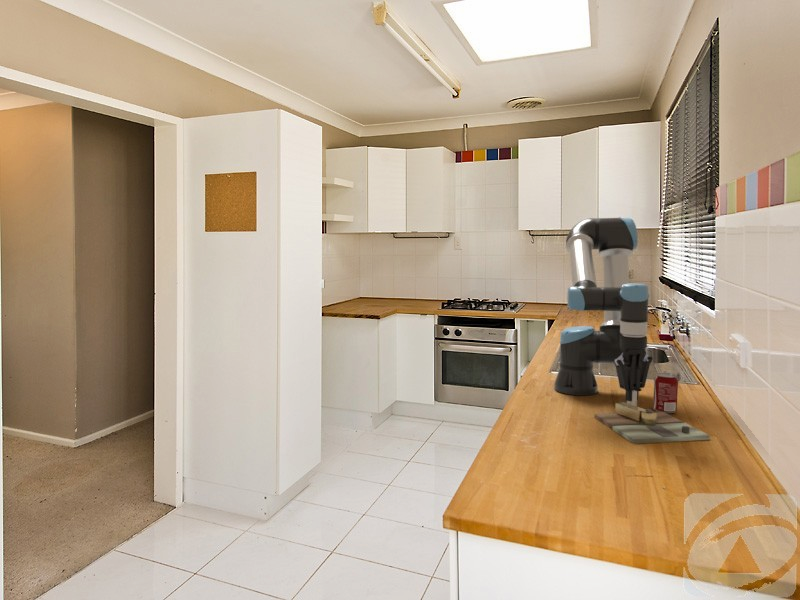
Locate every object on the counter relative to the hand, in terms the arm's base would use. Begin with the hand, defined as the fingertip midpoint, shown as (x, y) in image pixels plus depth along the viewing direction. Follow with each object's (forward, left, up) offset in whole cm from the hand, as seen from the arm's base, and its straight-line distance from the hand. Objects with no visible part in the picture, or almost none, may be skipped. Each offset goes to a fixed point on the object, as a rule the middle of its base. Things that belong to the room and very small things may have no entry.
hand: (631, 410), depth 163 cm
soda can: (-5, +14, -3) cm, 16 cm away
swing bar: (+4, -1, -1) cm, 5 cm away
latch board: (+9, 0, -2) cm, 9 cm away
